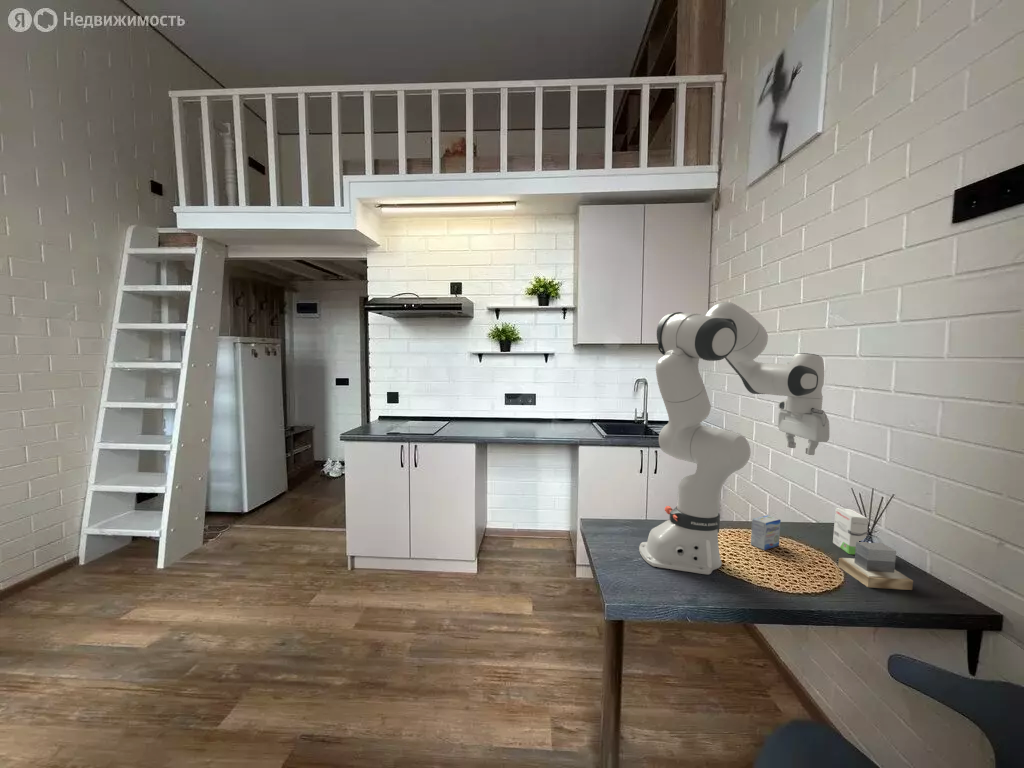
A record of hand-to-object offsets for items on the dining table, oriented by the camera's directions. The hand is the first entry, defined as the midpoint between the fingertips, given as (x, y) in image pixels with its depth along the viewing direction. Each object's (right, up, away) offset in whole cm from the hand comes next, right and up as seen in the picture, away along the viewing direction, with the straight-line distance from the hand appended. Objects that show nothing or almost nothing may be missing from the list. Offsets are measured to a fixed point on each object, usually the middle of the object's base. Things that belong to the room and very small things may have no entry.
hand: (800, 451), depth 131 cm
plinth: (+10, -32, -15) cm, 37 cm away
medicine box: (-9, -31, +3) cm, 32 cm away
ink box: (+17, -31, +2) cm, 36 cm away
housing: (+10, -29, -15) cm, 34 cm away
